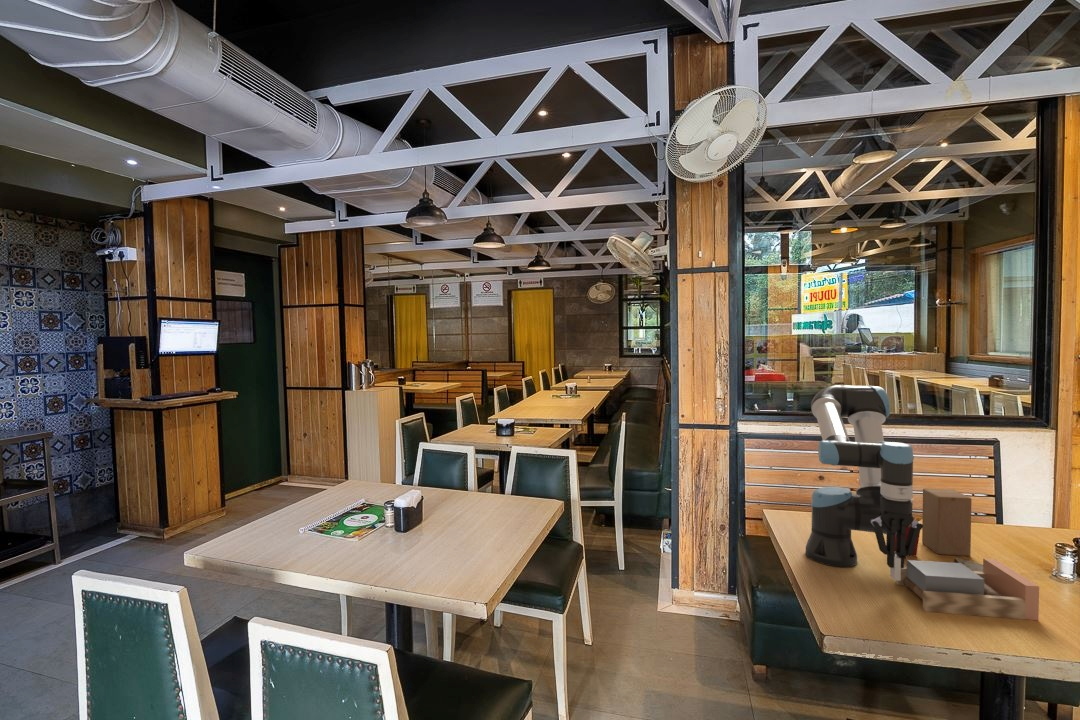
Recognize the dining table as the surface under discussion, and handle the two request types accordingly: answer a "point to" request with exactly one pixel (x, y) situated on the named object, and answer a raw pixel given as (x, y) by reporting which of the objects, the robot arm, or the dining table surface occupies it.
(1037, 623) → the dining table surface
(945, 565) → the slab
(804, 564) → the dining table surface
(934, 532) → the wooden block
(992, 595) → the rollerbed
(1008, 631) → the dining table surface
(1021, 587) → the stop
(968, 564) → the stone
